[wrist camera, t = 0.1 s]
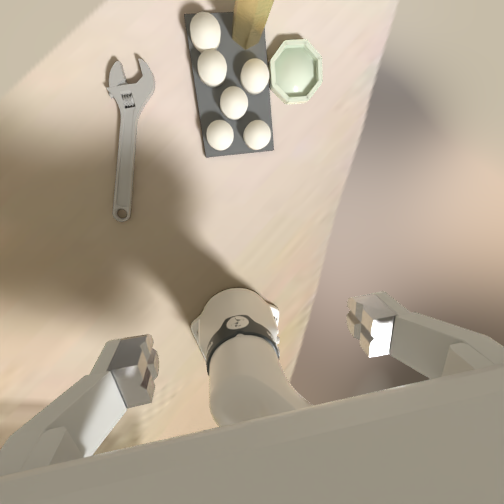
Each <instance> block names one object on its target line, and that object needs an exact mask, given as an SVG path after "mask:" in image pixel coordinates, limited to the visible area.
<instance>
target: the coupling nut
mask: <svg viewBox="0 0 504 504" xmlns="http://www.w3.org/2000/svg"><path fill="white" fill-rule="evenodd" d="M273 2H274V0H235V6H234V13H233V22H232V39H233V40H234V41H235V42H236V43H237V44H239V45H240V46H241V47H242V48H243V49H245V50H246V49H248V48H250V47H252V46H254V45H256V44H257V43H259V41H260V38H261V35H262V32H263V29H264V27H265V24H266V21H267V18H268V16H269V13H270V10H271V7H272V4H273Z"/></svg>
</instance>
